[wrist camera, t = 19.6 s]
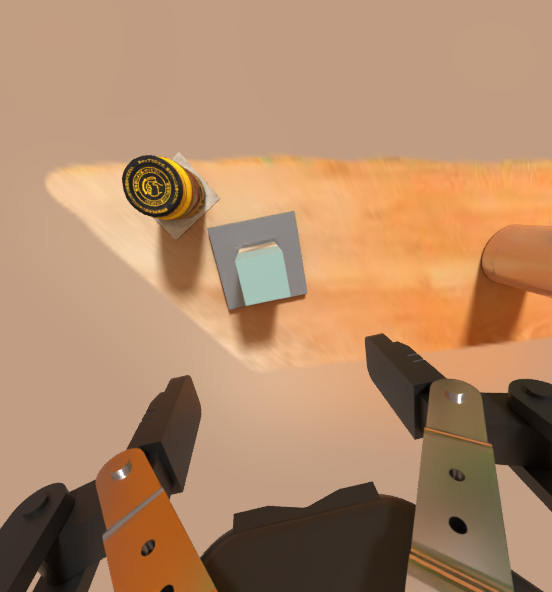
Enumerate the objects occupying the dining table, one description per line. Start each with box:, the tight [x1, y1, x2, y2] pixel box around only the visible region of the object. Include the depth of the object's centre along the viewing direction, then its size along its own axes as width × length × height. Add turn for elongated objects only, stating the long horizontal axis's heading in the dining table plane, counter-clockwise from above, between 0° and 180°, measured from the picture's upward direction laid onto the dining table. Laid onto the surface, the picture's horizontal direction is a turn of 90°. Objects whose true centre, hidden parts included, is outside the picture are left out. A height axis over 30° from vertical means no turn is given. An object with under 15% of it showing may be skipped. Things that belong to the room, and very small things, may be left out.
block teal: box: [235, 246, 291, 306], centre depth 30 cm, size 5×5×5 cm
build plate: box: [207, 211, 307, 310], centre depth 38 cm, size 12×12×1 cm
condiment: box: [122, 152, 220, 240], centre depth 29 cm, size 7×8×12 cm
